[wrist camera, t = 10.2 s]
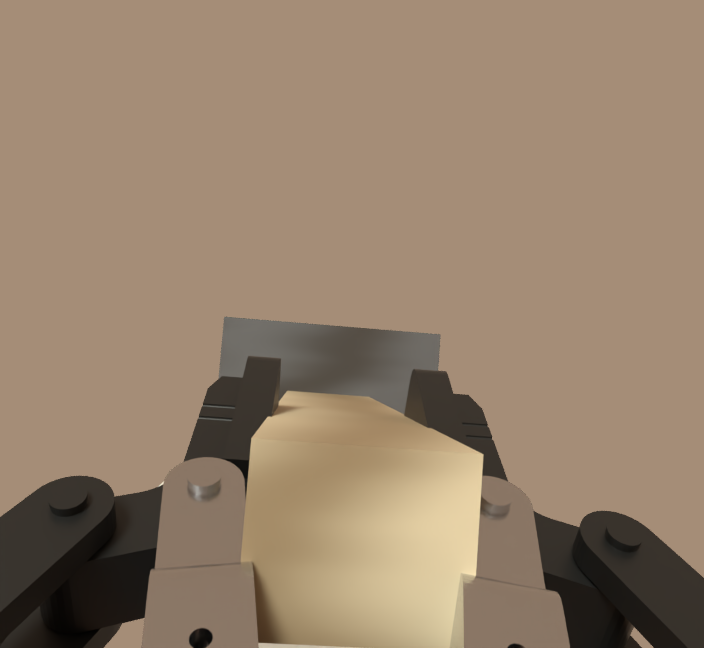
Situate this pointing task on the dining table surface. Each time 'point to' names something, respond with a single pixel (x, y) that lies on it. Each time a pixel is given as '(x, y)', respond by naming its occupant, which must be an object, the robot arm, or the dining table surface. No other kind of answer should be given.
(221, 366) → the grey and beige blocks
